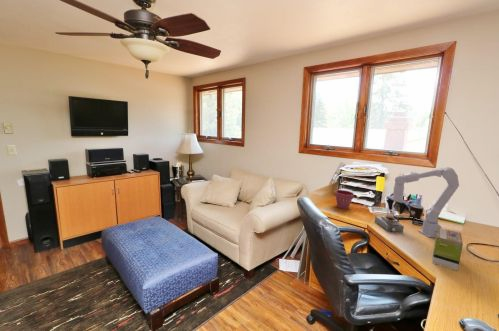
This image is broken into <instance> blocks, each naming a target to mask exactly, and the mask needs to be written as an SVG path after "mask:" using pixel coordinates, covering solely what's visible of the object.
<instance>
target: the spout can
mask: <svg viewBox="0 0 499 331" xmlns="http://www.w3.org/2000/svg"><path fill="white" fill-rule="evenodd" d="M386 212H387V213H386V216H387V218H386V219H387V220H393V218H394V217H395V212H394V211H393V210H387V211H386Z"/></svg>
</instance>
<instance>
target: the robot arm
mask: <svg viewBox="0 0 499 331" xmlns="http://www.w3.org/2000/svg"><path fill="white" fill-rule="evenodd" d="M434 176H435V177H439V178H444V180H445V181H446V183H447V185H446V187H445V188H444V190H443V191H442V192H441V194H440V195H439V197H438V198H437V200H436V201H435V202H434V204H433V205H432V206H431V207H430V208H428V209H427V210H426V211H425V217H424V218H423V222H422V228H421V229H418V232H420V233H422V234H423V235H425V236H426V237H428V238H434V239H435V238H436V232H437V228H442V226H441V225H440V224H439V221H438V220H439V216H440V214H441V212H442V210H443V208H444V207H445V206H446V205H447V203H448V202H449V200H450V199H451V198H452V196H453V195H454V194H455V192H456V191H457V190H458V188H459V187H460V183H459V176H458V175H457V173H456V171H455V170H454V168H452V167H449V166H448V167H447V166H446V167H444V168H443V167H441V168H435V169H431V170H427V171H423V172H419V173H418V172H416V171H415V172H414V171H411V172H410V173H406V174H404V173H402V175H401V174H399V175H397V176H396V177H395V179H394V186H393V193H392V196H391V195H387V196H386V203H387V206H388V211H390V210H391V211H393V206H394V203H395V202H396V203H399V211H398V213H399V214H400V215H402V214H403V213H404V212H405V210H406V209H407V207H409V206H410V203H409V201H406V200H405V199H403V197H404V192H405V183H406V184H408V183H413V182H418V181H419V180H420V179H424V178H429V177H430V178H431V177H434ZM408 205H409V206H408Z"/></svg>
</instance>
